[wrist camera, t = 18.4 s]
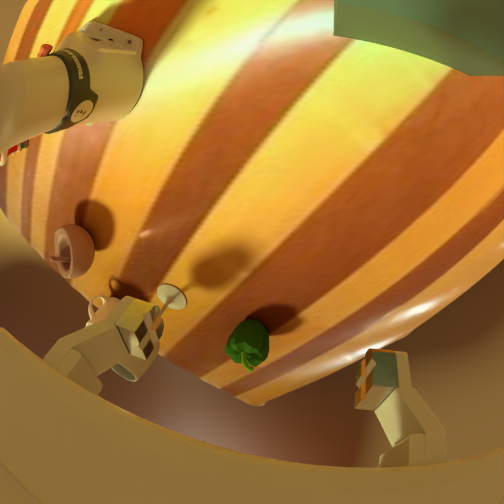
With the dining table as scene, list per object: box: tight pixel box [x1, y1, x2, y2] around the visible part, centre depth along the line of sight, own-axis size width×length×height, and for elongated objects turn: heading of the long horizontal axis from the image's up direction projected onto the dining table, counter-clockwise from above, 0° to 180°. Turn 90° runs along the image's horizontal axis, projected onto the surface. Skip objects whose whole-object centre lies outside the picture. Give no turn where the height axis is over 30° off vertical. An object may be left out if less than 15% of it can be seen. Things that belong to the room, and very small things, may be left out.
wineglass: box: [111, 284, 186, 381], centre depth 49 cm, size 8×8×21 cm
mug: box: [86, 294, 121, 327], centre depth 62 cm, size 9×12×11 cm
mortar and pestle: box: [50, 224, 95, 279], centre depth 51 cm, size 12×12×11 cm
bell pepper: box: [225, 319, 269, 372], centre depth 52 cm, size 8×8×10 cm
